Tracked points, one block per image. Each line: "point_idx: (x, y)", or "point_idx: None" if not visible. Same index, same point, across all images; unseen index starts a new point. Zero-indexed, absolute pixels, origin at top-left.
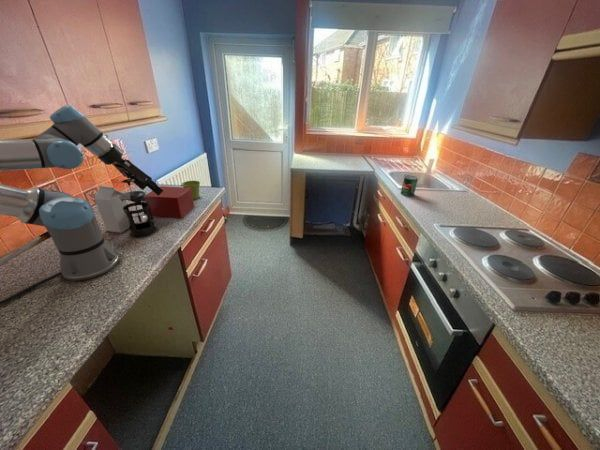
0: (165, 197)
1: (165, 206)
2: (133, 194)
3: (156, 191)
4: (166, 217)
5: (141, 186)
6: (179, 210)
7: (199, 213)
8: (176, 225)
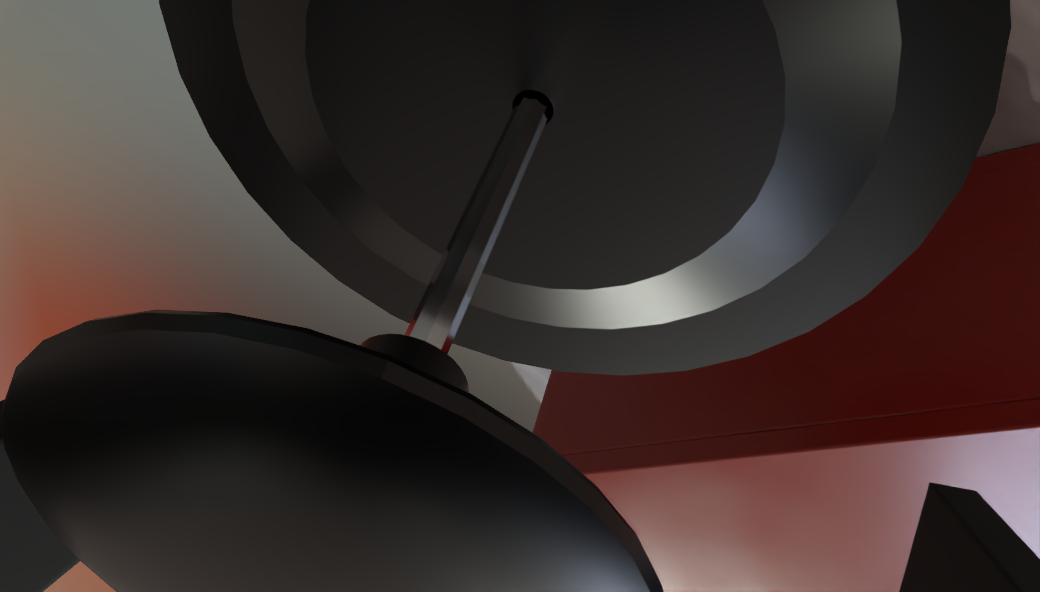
0: (695, 458)
1: None
2: (462, 107)
3: None
4: None
5: (946, 570)
6: None
7: (535, 388)
8: None
